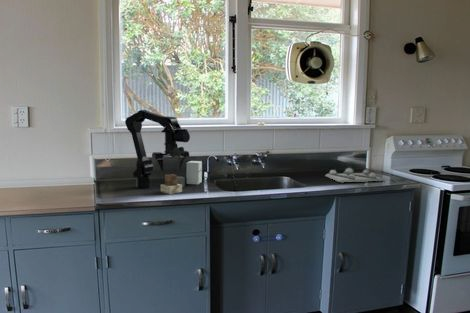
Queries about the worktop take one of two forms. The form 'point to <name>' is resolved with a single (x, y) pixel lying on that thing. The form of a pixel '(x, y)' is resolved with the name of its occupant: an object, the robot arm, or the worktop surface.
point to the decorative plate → (353, 176)
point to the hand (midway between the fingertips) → (171, 170)
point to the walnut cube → (171, 180)
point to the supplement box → (194, 172)
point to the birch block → (171, 188)
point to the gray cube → (181, 181)
